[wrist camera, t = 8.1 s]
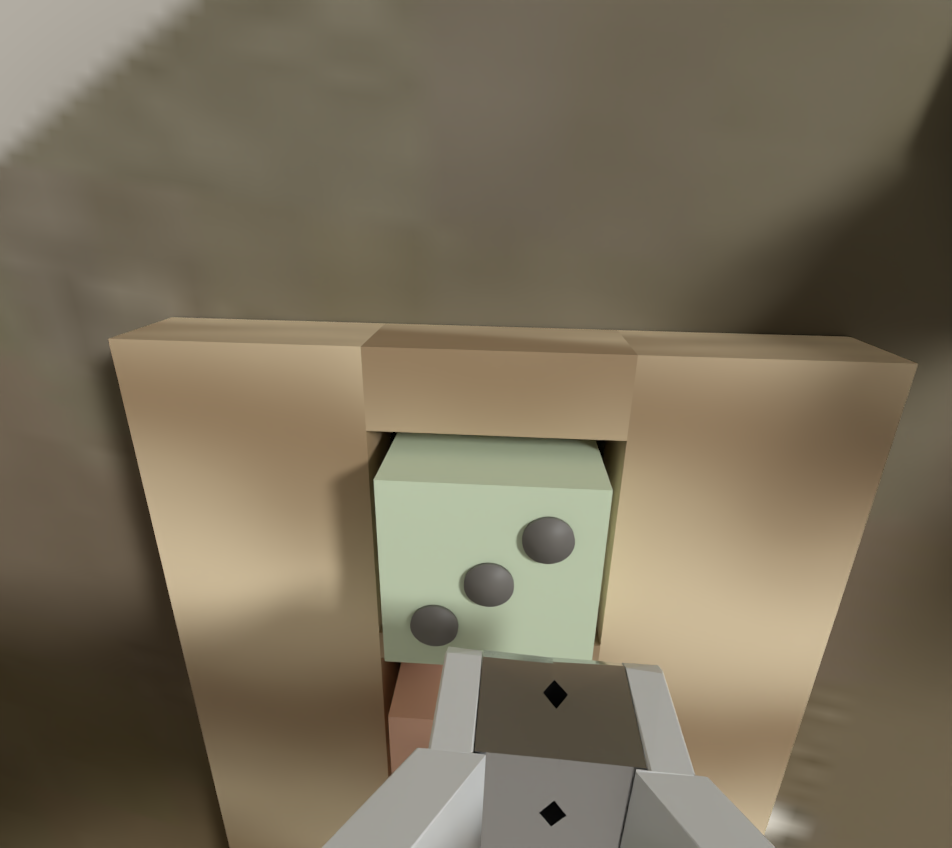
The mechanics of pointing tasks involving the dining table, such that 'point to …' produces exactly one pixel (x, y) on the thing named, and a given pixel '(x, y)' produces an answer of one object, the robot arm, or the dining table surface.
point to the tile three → (490, 545)
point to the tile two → (412, 709)
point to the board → (496, 414)
